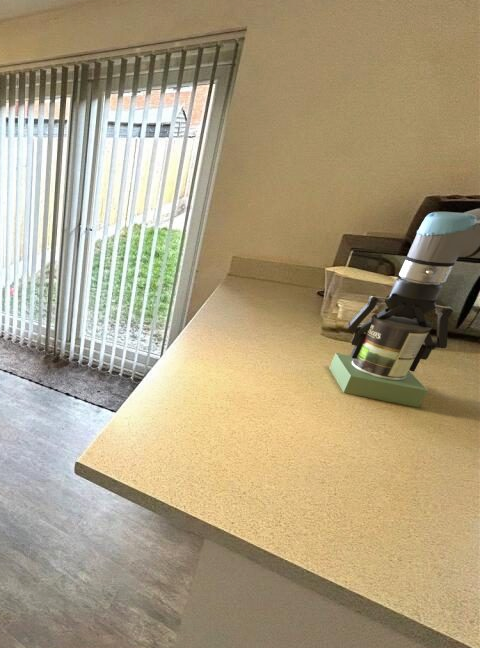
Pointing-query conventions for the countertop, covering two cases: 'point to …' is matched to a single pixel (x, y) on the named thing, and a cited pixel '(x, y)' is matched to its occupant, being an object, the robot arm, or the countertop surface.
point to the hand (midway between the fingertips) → (381, 362)
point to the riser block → (376, 383)
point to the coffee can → (390, 347)
